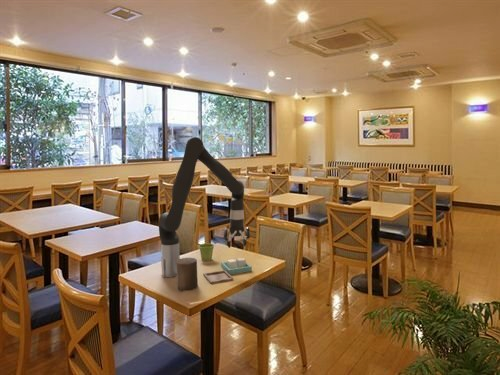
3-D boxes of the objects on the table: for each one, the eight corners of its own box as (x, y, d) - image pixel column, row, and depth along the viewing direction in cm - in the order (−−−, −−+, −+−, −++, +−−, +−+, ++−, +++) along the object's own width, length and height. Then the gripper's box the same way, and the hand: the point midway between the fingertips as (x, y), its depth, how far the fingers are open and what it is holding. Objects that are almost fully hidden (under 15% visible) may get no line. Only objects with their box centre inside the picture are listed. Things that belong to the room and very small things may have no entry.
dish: (229, 275, 186) (228, 270, 185) (221, 267, 198) (221, 262, 197) (251, 271, 191) (251, 266, 190) (242, 264, 203) (242, 259, 202)
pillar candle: (199, 290, 167) (198, 259, 166) (178, 292, 165) (177, 261, 163) (196, 283, 177) (195, 253, 175) (176, 285, 174) (175, 255, 172)
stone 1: (229, 271, 190) (229, 262, 190) (227, 268, 194) (227, 260, 193) (236, 270, 192) (236, 261, 191) (234, 267, 196) (234, 259, 195)
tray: (210, 284, 174) (210, 282, 173) (203, 276, 185) (203, 273, 185) (233, 281, 178) (233, 278, 178) (225, 272, 190) (225, 269, 190)
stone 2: (239, 269, 193) (238, 260, 192) (236, 267, 196) (236, 258, 196) (245, 268, 194) (245, 259, 193) (243, 266, 198) (243, 257, 197)
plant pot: (206, 256, 219) (205, 242, 218) (217, 258, 213) (217, 244, 212) (195, 260, 211) (195, 246, 210) (207, 263, 206) (206, 248, 205)
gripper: (226, 219, 186) (226, 249, 187) (251, 218, 191) (251, 247, 192) (222, 217, 193) (222, 246, 194) (246, 215, 198) (246, 244, 199)
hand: (236, 246), depth 193 cm, fingers open, 8 cm apart
